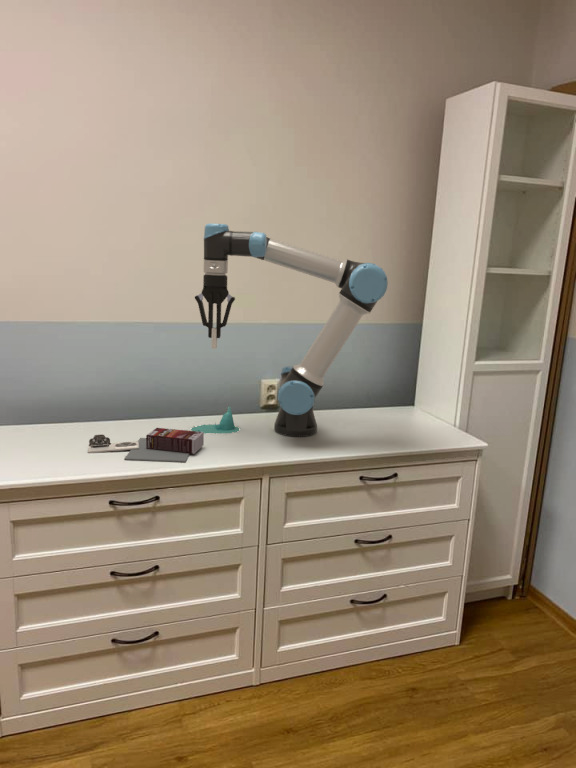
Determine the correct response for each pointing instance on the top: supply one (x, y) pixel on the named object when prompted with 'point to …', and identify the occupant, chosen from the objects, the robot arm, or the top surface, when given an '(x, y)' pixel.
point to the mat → (155, 454)
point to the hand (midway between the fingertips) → (214, 347)
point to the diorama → (219, 425)
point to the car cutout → (109, 445)
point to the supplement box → (175, 440)
